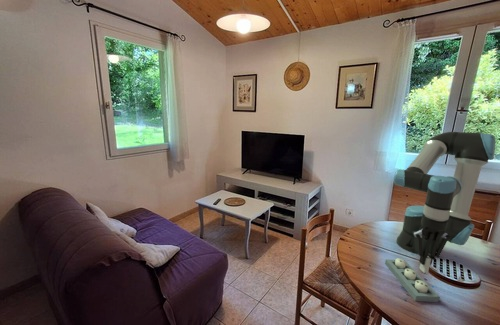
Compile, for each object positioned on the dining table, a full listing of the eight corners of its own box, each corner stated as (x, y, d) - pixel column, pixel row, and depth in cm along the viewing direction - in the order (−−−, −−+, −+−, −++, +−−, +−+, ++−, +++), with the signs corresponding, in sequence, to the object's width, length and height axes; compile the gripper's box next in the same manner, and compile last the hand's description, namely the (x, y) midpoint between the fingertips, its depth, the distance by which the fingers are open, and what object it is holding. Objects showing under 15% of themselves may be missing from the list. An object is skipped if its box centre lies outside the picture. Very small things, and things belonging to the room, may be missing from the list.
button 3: (422, 286, 93) (423, 279, 92) (429, 294, 89) (431, 287, 88) (411, 286, 93) (413, 279, 93) (418, 294, 89) (420, 287, 89)
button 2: (411, 274, 100) (412, 268, 99) (417, 281, 96) (418, 275, 95) (401, 274, 100) (402, 268, 99) (407, 281, 96) (408, 274, 95)
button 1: (401, 264, 107) (402, 258, 106) (407, 270, 103) (408, 264, 102) (392, 264, 107) (393, 257, 106) (397, 270, 103) (398, 263, 102)
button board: (403, 264, 109) (404, 260, 108) (438, 301, 88) (439, 296, 87) (384, 263, 109) (385, 259, 109) (415, 300, 88) (416, 295, 87)
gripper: (445, 213, 87) (433, 265, 93) (410, 211, 88) (401, 263, 93) (461, 222, 80) (448, 278, 85) (424, 220, 81) (413, 276, 86)
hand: (423, 270), depth 89 cm, fingers closed
